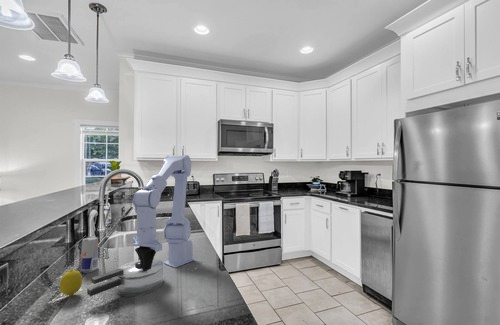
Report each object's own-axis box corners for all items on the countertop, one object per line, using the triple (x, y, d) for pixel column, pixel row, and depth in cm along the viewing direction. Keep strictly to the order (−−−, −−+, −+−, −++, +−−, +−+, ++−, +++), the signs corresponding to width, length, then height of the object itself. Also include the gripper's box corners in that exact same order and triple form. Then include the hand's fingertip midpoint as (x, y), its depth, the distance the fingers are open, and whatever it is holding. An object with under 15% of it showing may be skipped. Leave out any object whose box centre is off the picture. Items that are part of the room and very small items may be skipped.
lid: (148, 258, 89) (148, 253, 89) (171, 267, 81) (171, 260, 81) (83, 280, 73) (83, 273, 73) (103, 293, 64) (103, 285, 64)
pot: (148, 272, 89) (148, 258, 89) (171, 282, 81) (171, 268, 81) (79, 298, 72) (79, 281, 72) (99, 315, 63) (99, 296, 63)
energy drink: (79, 270, 92) (79, 238, 92) (95, 265, 96) (95, 235, 96) (83, 274, 89) (83, 241, 89) (100, 269, 92) (100, 238, 93)
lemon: (86, 291, 76) (86, 265, 76) (74, 300, 71) (74, 273, 71) (68, 291, 76) (68, 266, 76) (54, 301, 70) (54, 273, 71)
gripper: (123, 226, 79) (123, 268, 78) (147, 233, 70) (147, 280, 70) (143, 222, 84) (143, 261, 84) (168, 228, 76) (168, 271, 75)
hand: (146, 269), depth 77 cm, fingers closed, pressing on lid
